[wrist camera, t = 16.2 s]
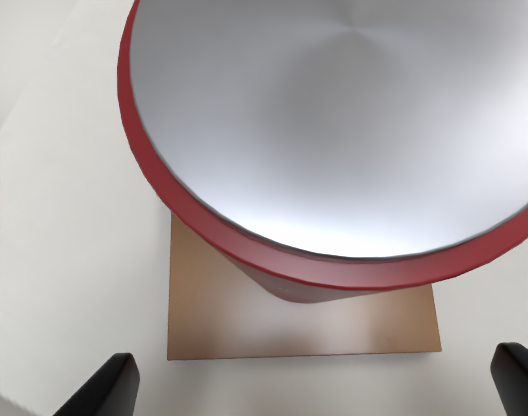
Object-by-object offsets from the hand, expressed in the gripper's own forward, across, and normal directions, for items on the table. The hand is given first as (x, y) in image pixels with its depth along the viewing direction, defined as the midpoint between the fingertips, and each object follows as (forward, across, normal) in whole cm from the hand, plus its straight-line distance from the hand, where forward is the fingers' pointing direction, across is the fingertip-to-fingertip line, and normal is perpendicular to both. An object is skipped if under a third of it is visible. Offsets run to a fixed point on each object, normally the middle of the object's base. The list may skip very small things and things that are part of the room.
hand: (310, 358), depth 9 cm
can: (+8, 0, +2) cm, 9 cm away
